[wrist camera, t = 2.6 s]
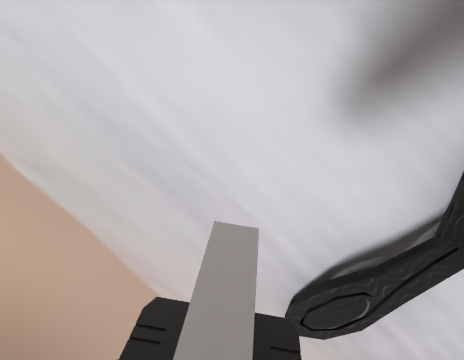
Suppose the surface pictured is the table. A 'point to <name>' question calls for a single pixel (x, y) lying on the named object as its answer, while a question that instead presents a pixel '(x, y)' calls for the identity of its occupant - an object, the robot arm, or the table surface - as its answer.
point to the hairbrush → (382, 282)
